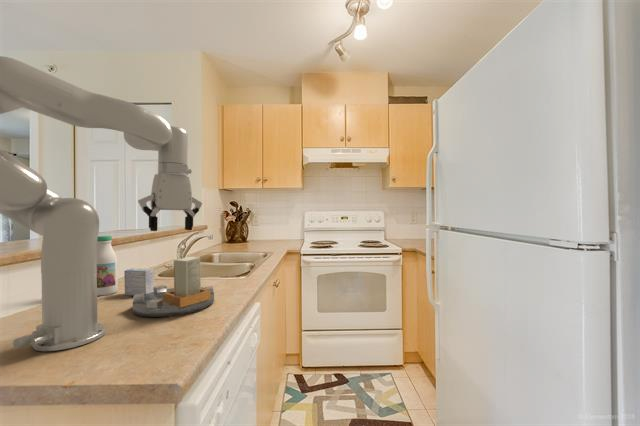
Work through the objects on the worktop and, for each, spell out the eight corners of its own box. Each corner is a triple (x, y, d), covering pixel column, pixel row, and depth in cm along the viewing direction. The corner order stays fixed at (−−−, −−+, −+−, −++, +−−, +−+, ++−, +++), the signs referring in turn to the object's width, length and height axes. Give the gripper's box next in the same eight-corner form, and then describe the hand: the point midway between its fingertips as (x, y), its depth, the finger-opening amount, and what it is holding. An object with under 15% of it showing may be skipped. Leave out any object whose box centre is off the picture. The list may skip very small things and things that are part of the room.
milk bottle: (96, 291, 107) (95, 235, 106) (121, 289, 109) (120, 234, 109) (86, 297, 99) (85, 237, 99) (113, 295, 102) (112, 236, 101)
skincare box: (189, 296, 90) (188, 256, 90) (201, 297, 89) (201, 256, 89) (173, 302, 84) (172, 259, 84) (186, 304, 83) (185, 260, 83)
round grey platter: (229, 301, 93) (228, 285, 93) (155, 323, 75) (155, 304, 75) (189, 290, 106) (189, 276, 106) (119, 306, 88) (119, 290, 88)
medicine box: (154, 292, 105) (154, 267, 105) (146, 296, 100) (145, 270, 100) (133, 292, 105) (133, 267, 105) (124, 295, 101) (123, 270, 101)
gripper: (195, 175, 95) (194, 229, 95) (134, 168, 82) (133, 230, 82) (207, 173, 90) (206, 230, 90) (144, 165, 77) (143, 232, 77)
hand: (171, 230), depth 86 cm, fingers open, 9 cm apart
